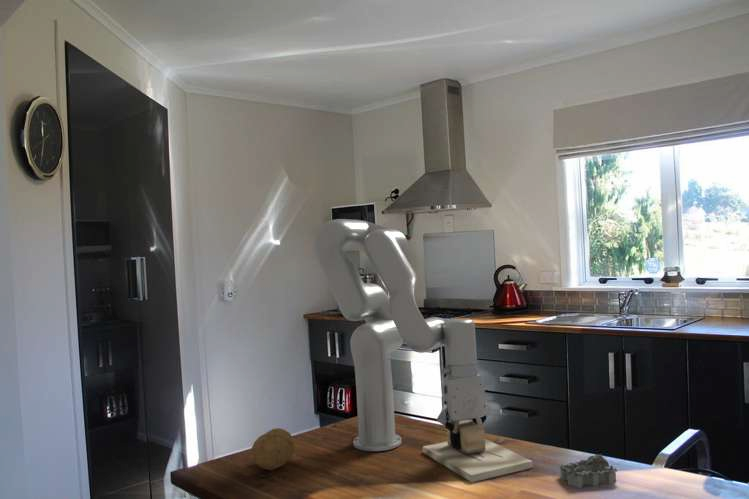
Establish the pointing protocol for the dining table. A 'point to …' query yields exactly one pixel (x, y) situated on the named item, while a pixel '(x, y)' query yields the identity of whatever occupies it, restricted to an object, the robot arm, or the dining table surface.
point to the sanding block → (470, 437)
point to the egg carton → (588, 472)
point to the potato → (273, 449)
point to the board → (478, 460)
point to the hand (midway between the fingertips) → (466, 445)
